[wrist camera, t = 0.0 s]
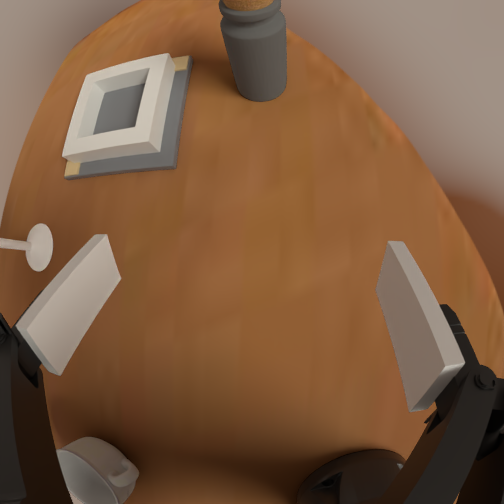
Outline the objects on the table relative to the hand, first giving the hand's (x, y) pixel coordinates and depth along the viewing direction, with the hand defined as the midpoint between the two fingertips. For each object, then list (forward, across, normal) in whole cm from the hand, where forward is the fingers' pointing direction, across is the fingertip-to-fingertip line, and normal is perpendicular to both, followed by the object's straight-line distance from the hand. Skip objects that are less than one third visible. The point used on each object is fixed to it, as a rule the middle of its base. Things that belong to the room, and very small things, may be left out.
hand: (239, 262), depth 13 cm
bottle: (+25, +1, -8) cm, 26 cm away
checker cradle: (+23, +18, -6) cm, 30 cm away
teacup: (-4, +19, +32) cm, 37 cm away
